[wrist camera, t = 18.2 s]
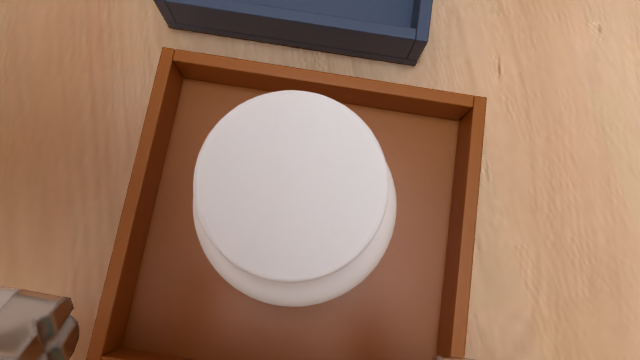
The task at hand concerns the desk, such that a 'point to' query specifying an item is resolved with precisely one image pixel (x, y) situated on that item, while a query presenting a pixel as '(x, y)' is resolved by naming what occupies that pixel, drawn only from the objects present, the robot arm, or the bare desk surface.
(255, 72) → the amber tray
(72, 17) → the desk surface
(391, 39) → the slate tray
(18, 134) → the desk surface
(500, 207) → the desk surface
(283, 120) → the pill bottle
